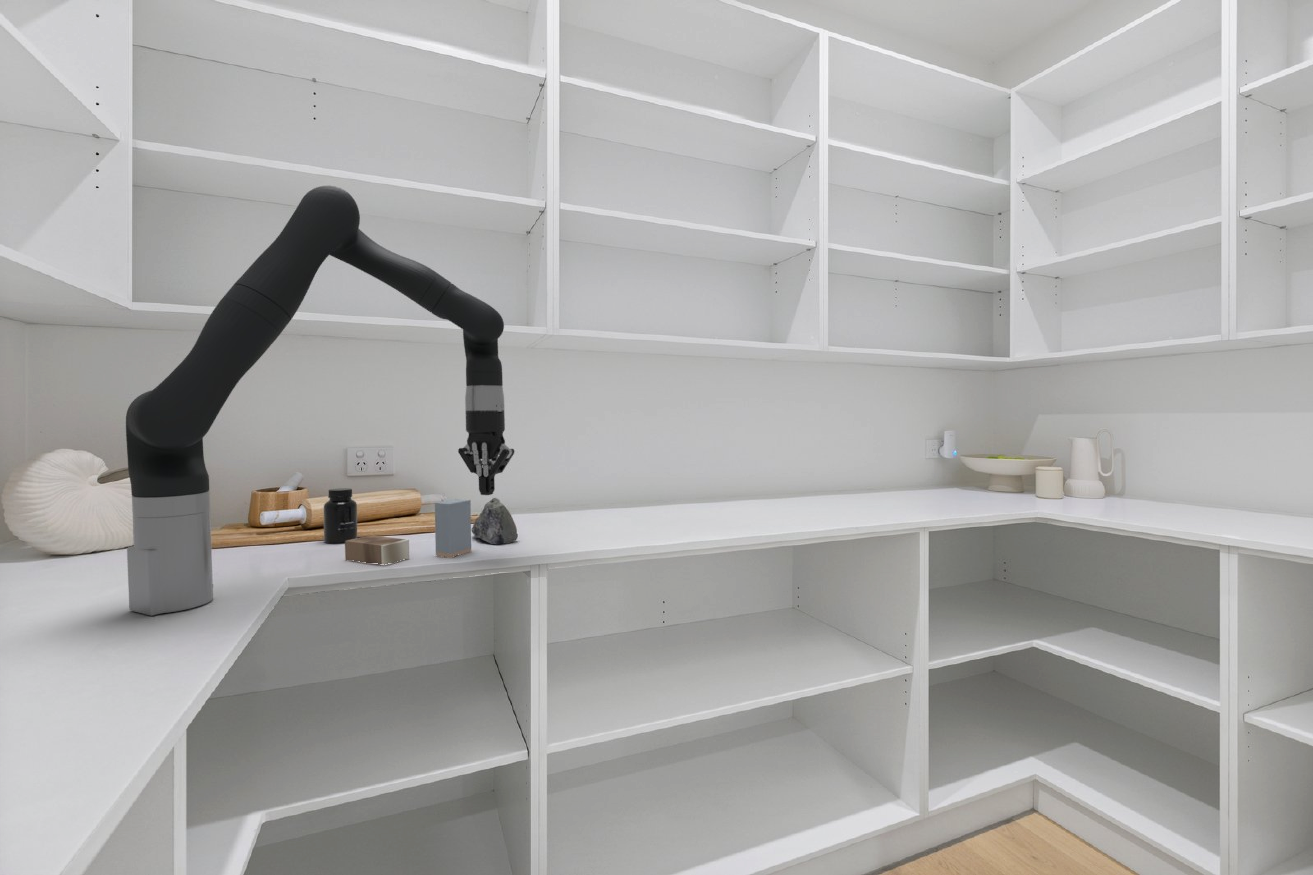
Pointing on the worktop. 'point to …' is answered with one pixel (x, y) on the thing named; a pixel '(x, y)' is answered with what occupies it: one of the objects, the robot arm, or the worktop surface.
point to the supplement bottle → (340, 516)
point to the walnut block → (377, 549)
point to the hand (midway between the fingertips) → (487, 494)
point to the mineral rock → (495, 524)
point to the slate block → (453, 527)
